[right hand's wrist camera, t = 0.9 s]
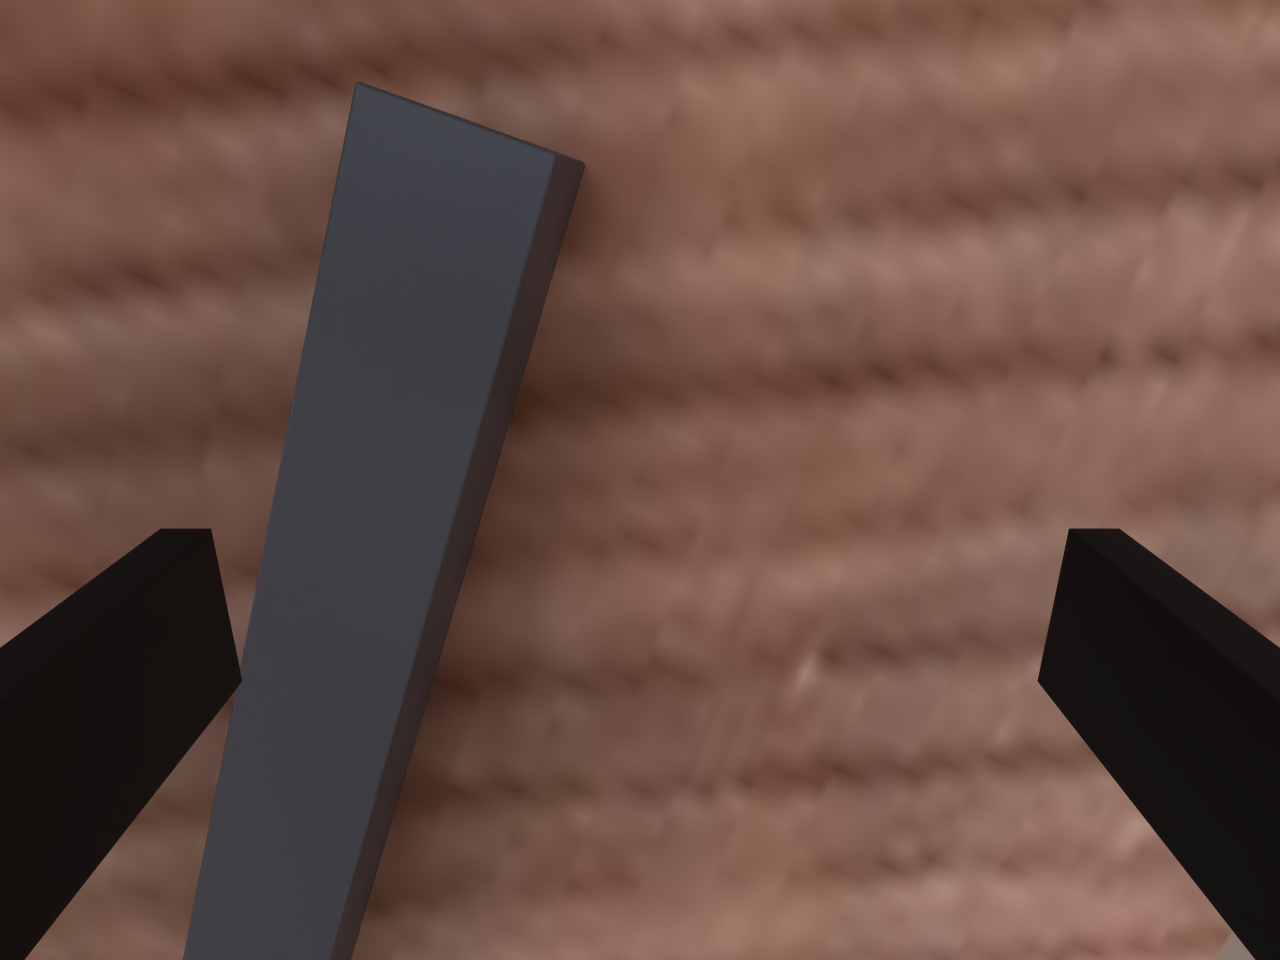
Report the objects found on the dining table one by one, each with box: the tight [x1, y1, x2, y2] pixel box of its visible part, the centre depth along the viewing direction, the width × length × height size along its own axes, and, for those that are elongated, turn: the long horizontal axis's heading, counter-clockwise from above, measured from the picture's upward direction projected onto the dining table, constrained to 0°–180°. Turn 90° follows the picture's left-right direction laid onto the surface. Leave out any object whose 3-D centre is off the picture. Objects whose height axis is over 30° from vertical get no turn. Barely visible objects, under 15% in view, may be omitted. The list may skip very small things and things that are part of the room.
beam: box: [183, 82, 585, 960], centre depth 31 cm, size 55×5×9 cm, turn 161°
